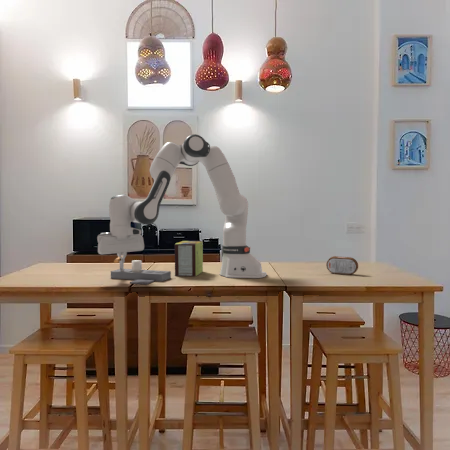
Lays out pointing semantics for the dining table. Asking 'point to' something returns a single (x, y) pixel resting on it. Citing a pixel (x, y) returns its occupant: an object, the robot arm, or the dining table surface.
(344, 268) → the tin
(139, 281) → the mat
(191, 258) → the protein box
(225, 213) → the robot arm
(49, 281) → the dining table surface
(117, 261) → the clip
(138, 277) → the grey base with peg
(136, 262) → the plug
